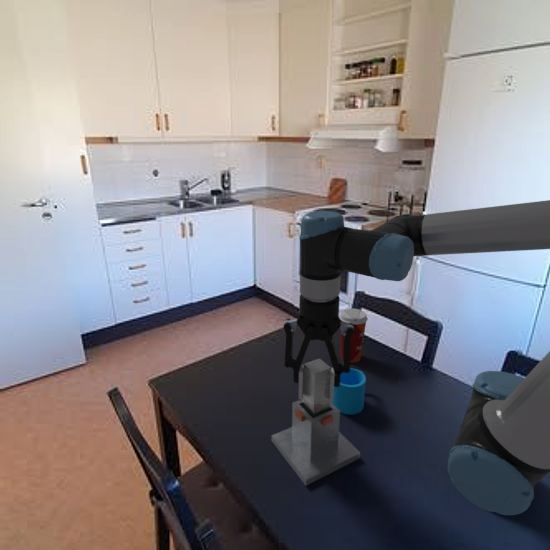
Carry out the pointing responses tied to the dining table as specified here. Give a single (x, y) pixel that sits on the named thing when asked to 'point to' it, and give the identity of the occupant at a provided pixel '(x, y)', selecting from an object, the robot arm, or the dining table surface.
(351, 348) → the coffee cup
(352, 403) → the mug
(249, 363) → the dining table surface
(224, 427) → the dining table surface
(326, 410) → the column
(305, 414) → the stand base
